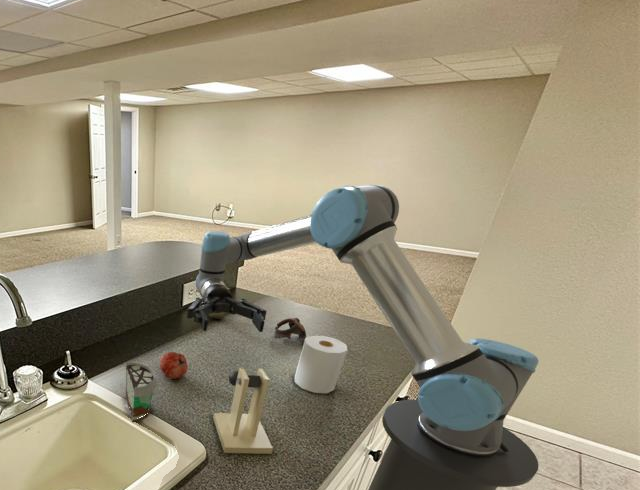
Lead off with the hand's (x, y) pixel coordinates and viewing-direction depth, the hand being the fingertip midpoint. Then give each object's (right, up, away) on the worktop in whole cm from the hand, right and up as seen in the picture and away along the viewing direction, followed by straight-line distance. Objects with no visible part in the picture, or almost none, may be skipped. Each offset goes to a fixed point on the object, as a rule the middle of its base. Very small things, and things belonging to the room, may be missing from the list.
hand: (233, 326), depth 96 cm
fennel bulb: (+7, +8, +51) cm, 52 cm away
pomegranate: (-13, -12, +14) cm, 23 cm away
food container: (-22, -20, 0) cm, 30 cm away
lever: (0, -14, -9) cm, 17 cm away
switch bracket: (0, -25, -7) cm, 26 cm away
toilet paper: (+25, -14, +13) cm, 32 cm away
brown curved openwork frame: (+28, -1, +37) cm, 47 cm away
